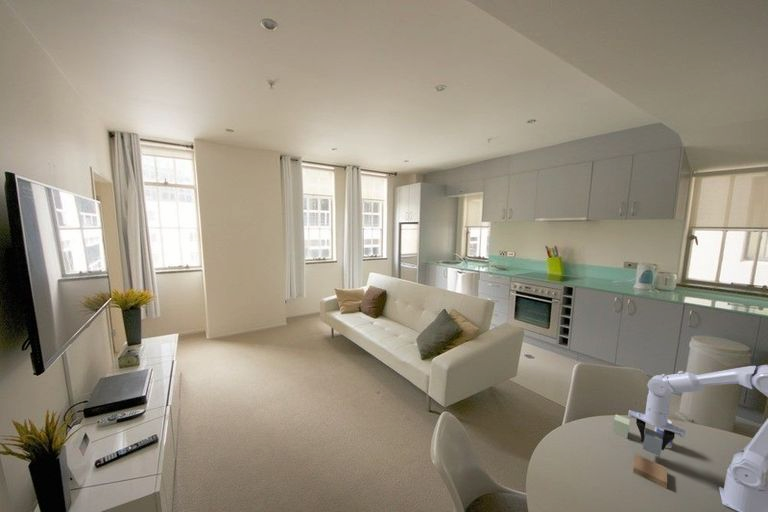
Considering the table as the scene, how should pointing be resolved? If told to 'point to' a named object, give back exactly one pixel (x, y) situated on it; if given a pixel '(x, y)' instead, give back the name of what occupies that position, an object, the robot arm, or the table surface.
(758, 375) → the robot arm
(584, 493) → the table surface
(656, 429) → the pill bottle
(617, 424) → the sage block
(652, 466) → the walnut block
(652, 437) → the slate block
